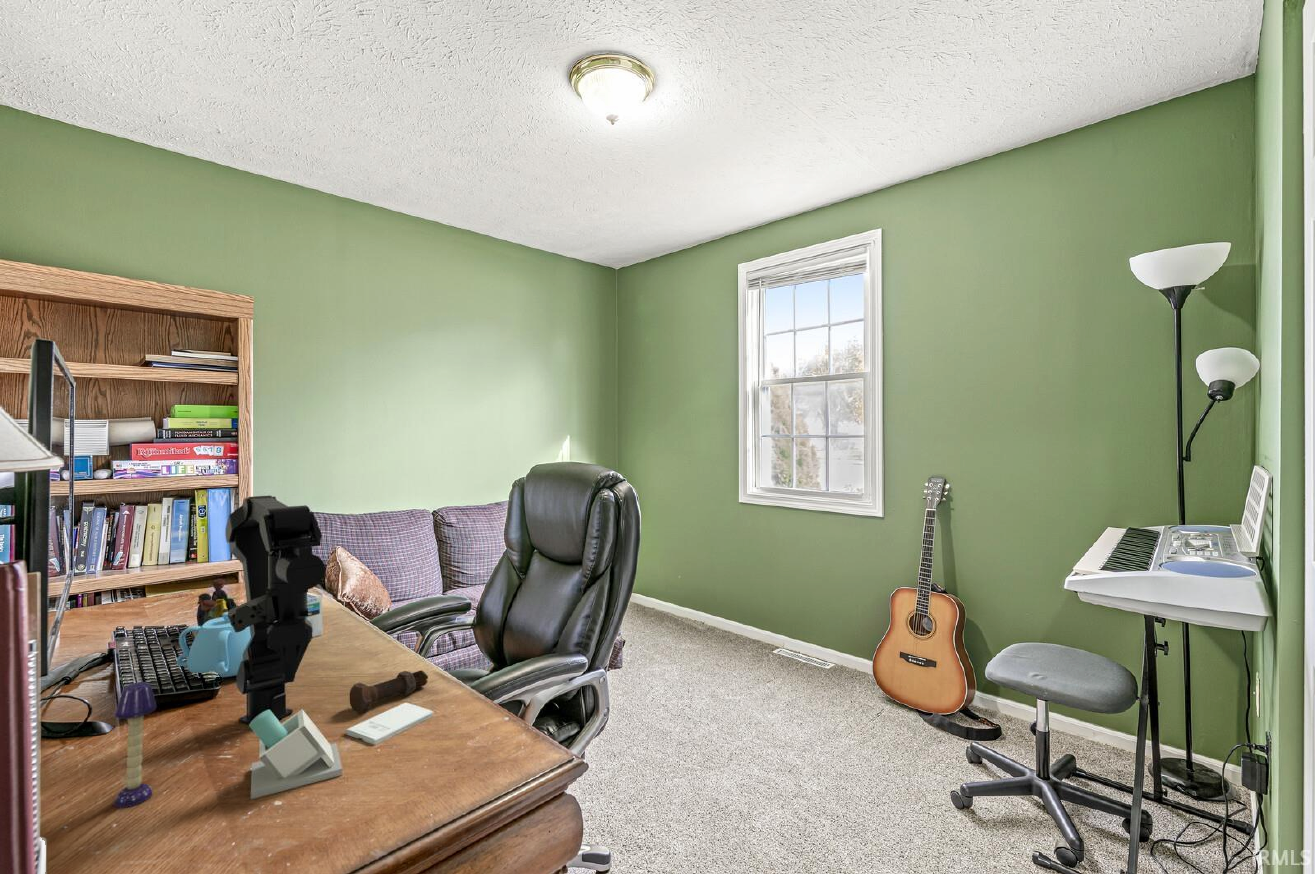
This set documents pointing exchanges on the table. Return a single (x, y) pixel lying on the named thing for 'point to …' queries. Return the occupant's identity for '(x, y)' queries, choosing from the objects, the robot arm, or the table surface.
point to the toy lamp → (135, 740)
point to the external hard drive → (389, 723)
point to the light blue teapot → (214, 647)
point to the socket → (295, 759)
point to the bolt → (385, 689)
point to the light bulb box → (315, 613)
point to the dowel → (268, 728)
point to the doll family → (214, 604)
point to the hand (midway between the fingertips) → (288, 670)
